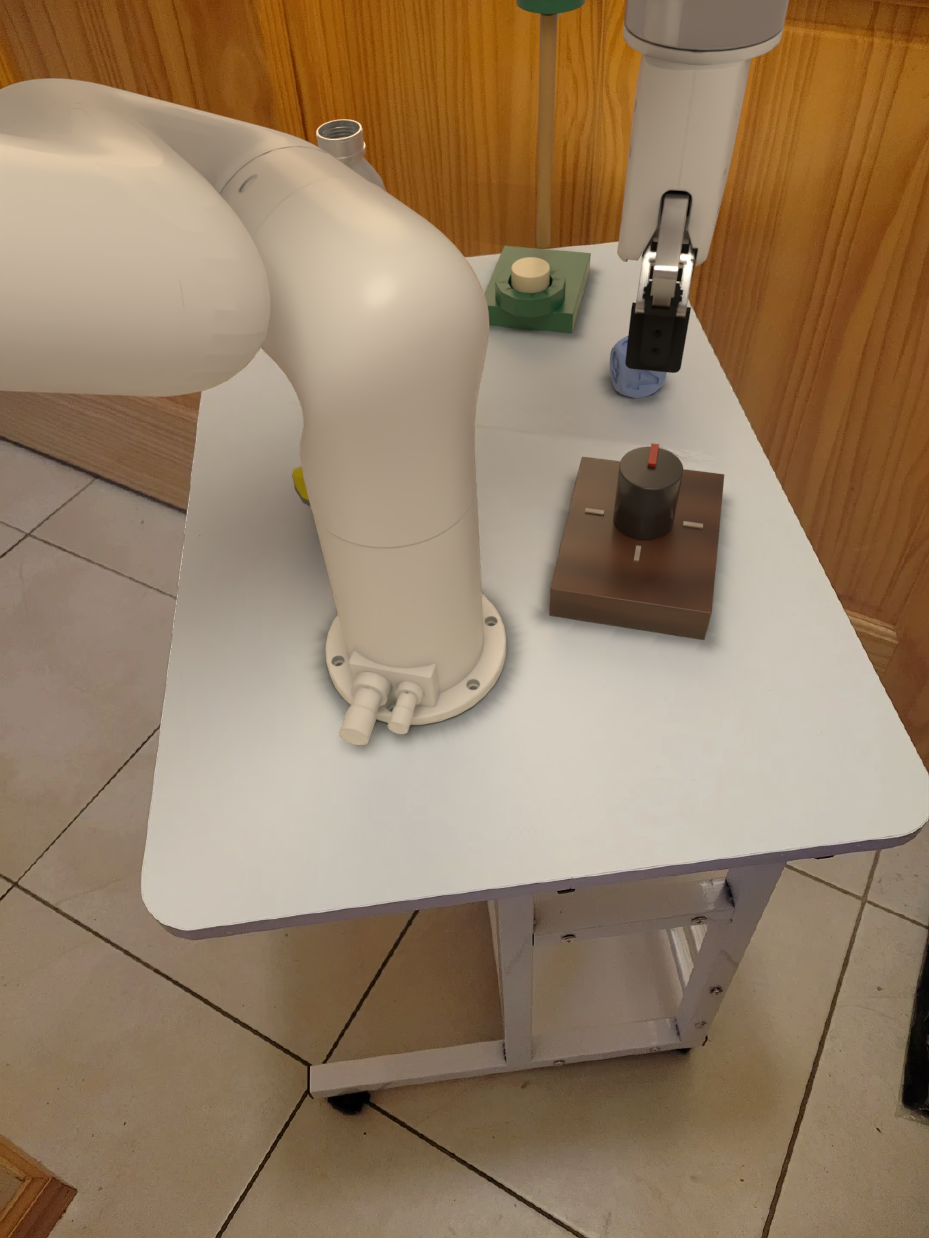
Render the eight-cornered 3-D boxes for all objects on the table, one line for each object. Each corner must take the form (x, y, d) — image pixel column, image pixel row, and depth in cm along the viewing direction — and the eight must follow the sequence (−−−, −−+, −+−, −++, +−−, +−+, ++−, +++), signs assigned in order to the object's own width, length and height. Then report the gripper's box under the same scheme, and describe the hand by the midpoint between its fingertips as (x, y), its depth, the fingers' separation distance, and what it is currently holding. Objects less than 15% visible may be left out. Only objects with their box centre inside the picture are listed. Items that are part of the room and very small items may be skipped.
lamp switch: (545, 296, 84) (546, 279, 82) (507, 293, 84) (507, 275, 83) (552, 275, 86) (553, 258, 84) (515, 272, 86) (515, 255, 85)
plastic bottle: (418, 339, 86) (397, 120, 71) (378, 377, 83) (346, 155, 67) (365, 321, 89) (332, 105, 73) (323, 357, 85) (280, 138, 70)
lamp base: (569, 341, 85) (572, 304, 82) (477, 332, 87) (476, 295, 84) (589, 273, 92) (592, 235, 89) (504, 265, 94) (503, 228, 91)
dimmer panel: (704, 640, 62) (712, 611, 60) (548, 615, 64) (550, 587, 62) (717, 502, 71) (725, 472, 68) (579, 484, 73) (581, 454, 70)
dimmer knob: (670, 544, 64) (681, 489, 60) (609, 535, 65) (615, 481, 61) (676, 501, 67) (687, 447, 63) (617, 494, 68) (623, 439, 63)
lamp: (567, 258, 87) (583, -62, 67) (511, 253, 88) (509, -63, 68) (576, 229, 90) (594, -84, 70) (522, 224, 91) (524, -85, 71)
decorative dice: (663, 395, 79) (669, 357, 76) (619, 401, 79) (623, 363, 76) (650, 368, 82) (656, 330, 79) (607, 374, 82) (611, 336, 79)
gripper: (643, -59, 48) (615, 244, 61) (602, 70, 38) (579, 401, 51) (789, -57, 47) (727, 252, 60) (787, 77, 36) (714, 415, 50)
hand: (659, 320), depth 55 cm, fingers open, 9 cm apart
